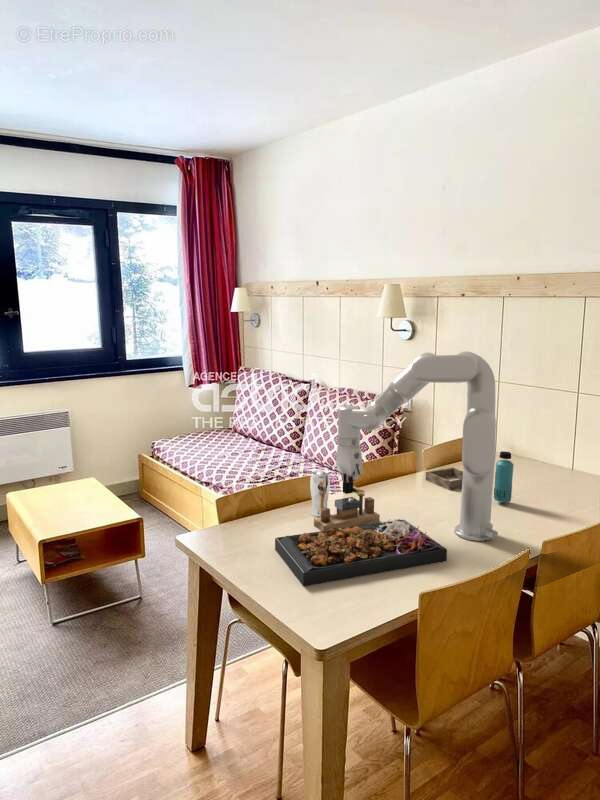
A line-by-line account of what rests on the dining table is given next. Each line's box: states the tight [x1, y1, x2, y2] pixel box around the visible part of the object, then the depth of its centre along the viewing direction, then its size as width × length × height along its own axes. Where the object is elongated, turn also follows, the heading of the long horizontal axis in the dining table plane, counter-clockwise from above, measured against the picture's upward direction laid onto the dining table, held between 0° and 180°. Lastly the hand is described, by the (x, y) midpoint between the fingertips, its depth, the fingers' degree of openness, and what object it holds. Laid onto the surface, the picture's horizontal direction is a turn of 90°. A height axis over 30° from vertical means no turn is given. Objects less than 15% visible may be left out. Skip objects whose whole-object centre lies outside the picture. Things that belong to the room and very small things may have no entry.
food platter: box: [274, 518, 448, 587], centre depth 174 cm, size 45×25×10 cm, turn 110°
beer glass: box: [309, 470, 331, 518], centre depth 206 cm, size 7×7×15 cm
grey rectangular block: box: [334, 496, 360, 511], centre depth 198 cm, size 5×7×3 cm
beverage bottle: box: [493, 450, 515, 503], centre depth 218 cm, size 6×7×20 cm
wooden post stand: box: [313, 496, 381, 531], centre depth 198 cm, size 7×22×9 cm, turn 117°
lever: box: [353, 485, 366, 497], centre depth 203 cm, size 2×10×2 cm, turn 27°
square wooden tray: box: [425, 467, 463, 491], centre depth 244 cm, size 15×15×4 cm
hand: (347, 492), depth 203 cm, fingers closed
